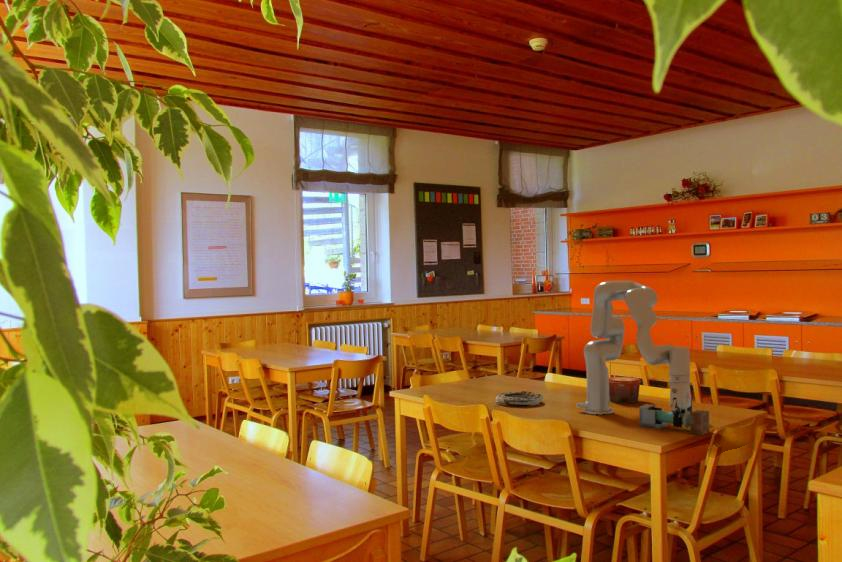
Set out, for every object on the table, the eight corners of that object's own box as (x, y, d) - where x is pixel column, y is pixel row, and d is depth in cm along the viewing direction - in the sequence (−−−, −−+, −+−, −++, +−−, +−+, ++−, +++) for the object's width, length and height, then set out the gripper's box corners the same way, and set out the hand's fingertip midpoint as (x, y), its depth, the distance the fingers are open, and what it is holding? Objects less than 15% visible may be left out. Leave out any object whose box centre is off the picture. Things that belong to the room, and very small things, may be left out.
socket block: (690, 434, 271) (689, 413, 271) (698, 430, 277) (697, 409, 277) (701, 435, 268) (701, 414, 268) (709, 431, 274) (708, 411, 274)
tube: (652, 425, 281) (651, 408, 281) (658, 422, 286) (658, 406, 286) (692, 430, 271) (692, 413, 271) (698, 427, 276) (698, 410, 276)
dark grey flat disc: (530, 396, 357) (530, 387, 357) (562, 407, 332) (562, 396, 332) (481, 402, 346) (481, 392, 346) (509, 413, 321) (509, 402, 321)
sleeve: (639, 426, 285) (639, 406, 284) (646, 423, 290) (646, 404, 290) (660, 429, 279) (659, 409, 279) (667, 426, 284) (666, 406, 284)
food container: (638, 398, 345) (638, 376, 344) (644, 404, 329) (643, 381, 329) (604, 398, 347) (604, 376, 347) (608, 404, 331) (608, 381, 331)
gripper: (680, 382, 268) (681, 431, 268) (697, 376, 281) (697, 423, 281) (661, 380, 273) (662, 428, 273) (678, 375, 286) (679, 420, 286)
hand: (680, 425), depth 277 cm, fingers closed on tube, 4 cm apart
